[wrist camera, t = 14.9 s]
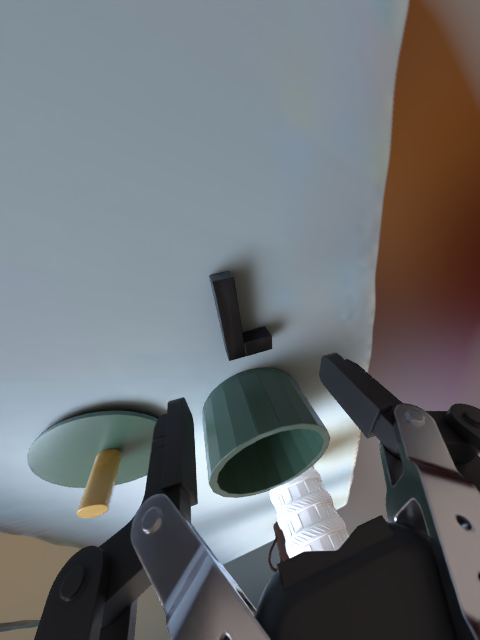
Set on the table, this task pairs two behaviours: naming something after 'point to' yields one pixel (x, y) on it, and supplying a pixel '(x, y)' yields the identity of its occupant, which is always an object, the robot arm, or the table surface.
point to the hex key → (236, 321)
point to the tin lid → (94, 455)
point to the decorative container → (308, 515)
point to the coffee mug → (279, 545)
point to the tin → (259, 433)
